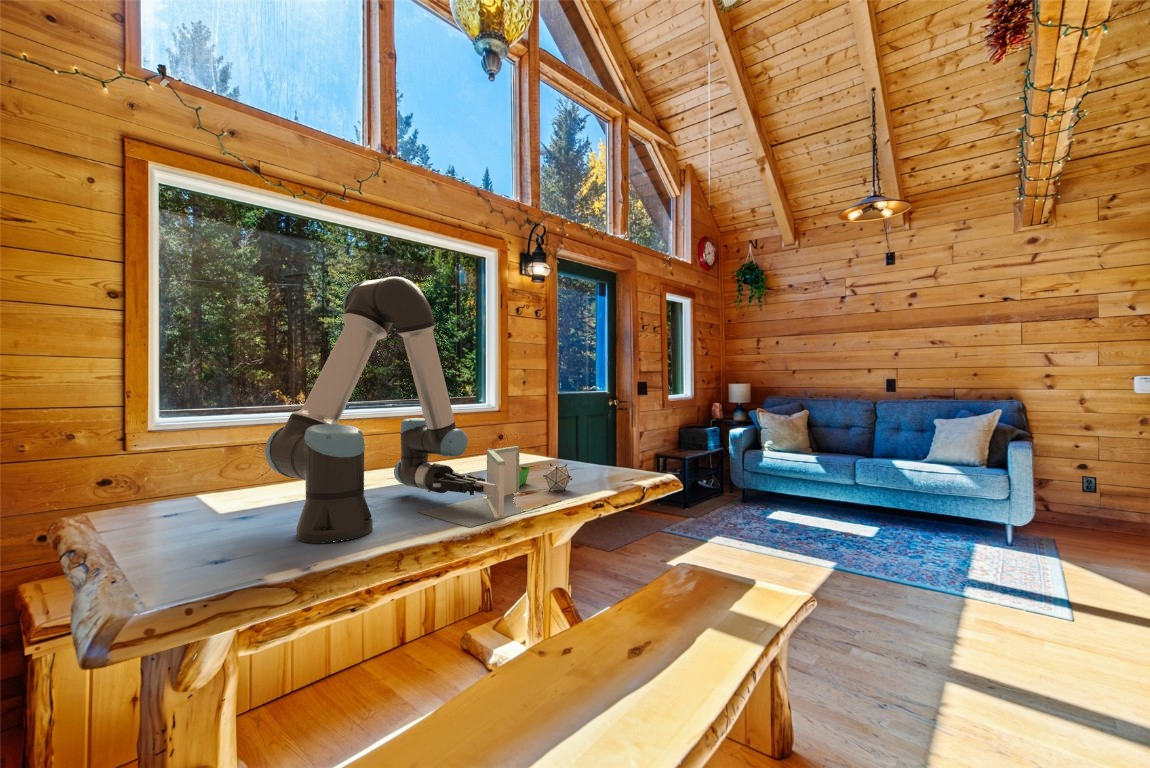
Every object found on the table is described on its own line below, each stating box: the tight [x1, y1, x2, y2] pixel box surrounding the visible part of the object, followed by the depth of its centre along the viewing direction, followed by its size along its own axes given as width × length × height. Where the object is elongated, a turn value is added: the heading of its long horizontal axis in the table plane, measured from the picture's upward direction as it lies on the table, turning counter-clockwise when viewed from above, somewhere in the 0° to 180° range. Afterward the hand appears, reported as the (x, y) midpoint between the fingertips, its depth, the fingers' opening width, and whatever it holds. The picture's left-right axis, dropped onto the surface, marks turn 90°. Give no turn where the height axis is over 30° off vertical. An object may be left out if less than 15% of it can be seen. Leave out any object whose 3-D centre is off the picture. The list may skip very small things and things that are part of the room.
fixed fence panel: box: [493, 445, 520, 495], centre depth 148 cm, size 9×2×14 cm, turn 141°
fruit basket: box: [519, 465, 531, 487], centre depth 161 cm, size 11×9×11 cm
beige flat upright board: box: [486, 447, 505, 516], centre depth 134 cm, size 21×2×14 cm, turn 18°
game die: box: [542, 463, 573, 492], centre depth 154 cm, size 9×8×10 cm
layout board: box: [419, 492, 562, 529], centre depth 135 cm, size 32×20×1 cm, turn 141°
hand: (494, 490), depth 126 cm, fingers closed
